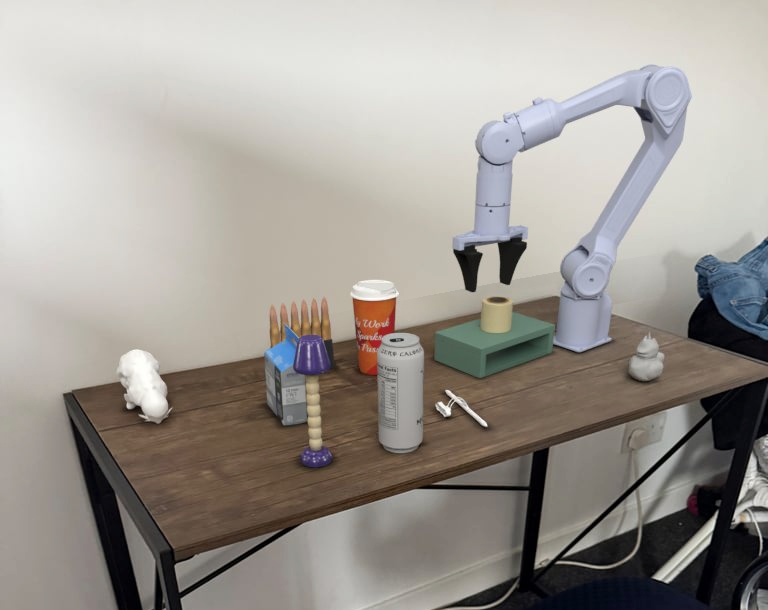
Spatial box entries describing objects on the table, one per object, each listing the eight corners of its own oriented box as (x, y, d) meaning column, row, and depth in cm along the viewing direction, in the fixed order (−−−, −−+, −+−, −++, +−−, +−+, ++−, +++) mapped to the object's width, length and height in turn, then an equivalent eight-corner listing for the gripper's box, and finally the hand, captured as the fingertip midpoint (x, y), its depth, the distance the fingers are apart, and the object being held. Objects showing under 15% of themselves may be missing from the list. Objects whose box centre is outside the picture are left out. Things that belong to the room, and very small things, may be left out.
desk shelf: (505, 336, 140) (507, 310, 137) (552, 352, 132) (555, 324, 130) (434, 360, 130) (434, 332, 128) (479, 378, 123) (481, 349, 120)
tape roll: (495, 321, 132) (497, 293, 129) (517, 328, 128) (519, 299, 126) (474, 327, 129) (475, 299, 126) (496, 335, 126) (498, 306, 123)
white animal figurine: (153, 341, 114) (175, 374, 106) (161, 391, 119) (183, 427, 111) (110, 349, 112) (129, 383, 103) (120, 400, 117) (140, 436, 109)
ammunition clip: (330, 364, 129) (327, 294, 123) (335, 368, 128) (331, 297, 121) (271, 375, 125) (264, 304, 119) (275, 379, 124) (268, 307, 117)
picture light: (489, 428, 107) (490, 414, 106) (461, 433, 106) (462, 419, 105) (447, 392, 118) (448, 379, 117) (422, 396, 117) (422, 383, 116)
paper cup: (345, 373, 125) (341, 289, 118) (364, 358, 131) (361, 276, 124) (389, 380, 123) (388, 294, 115) (406, 363, 129) (406, 281, 121)
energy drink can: (428, 451, 102) (430, 344, 94) (386, 458, 100) (384, 349, 92) (414, 432, 107) (415, 329, 99) (373, 438, 105) (371, 334, 97)
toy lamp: (300, 451, 102) (290, 332, 93) (335, 450, 102) (328, 330, 94) (300, 469, 98) (290, 345, 89) (336, 467, 98) (329, 343, 89)
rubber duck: (617, 377, 123) (625, 329, 118) (646, 369, 125) (654, 321, 121) (643, 388, 119) (652, 339, 114) (672, 379, 121) (681, 331, 117)
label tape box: (266, 404, 116) (258, 325, 109) (292, 399, 117) (285, 321, 110) (283, 427, 109) (275, 344, 102) (310, 422, 110) (304, 340, 103)
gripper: (472, 212, 117) (468, 299, 124) (543, 202, 124) (535, 285, 131) (445, 205, 122) (443, 289, 130) (514, 196, 129) (508, 276, 136)
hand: (487, 287), depth 131 cm, fingers open, 7 cm apart
